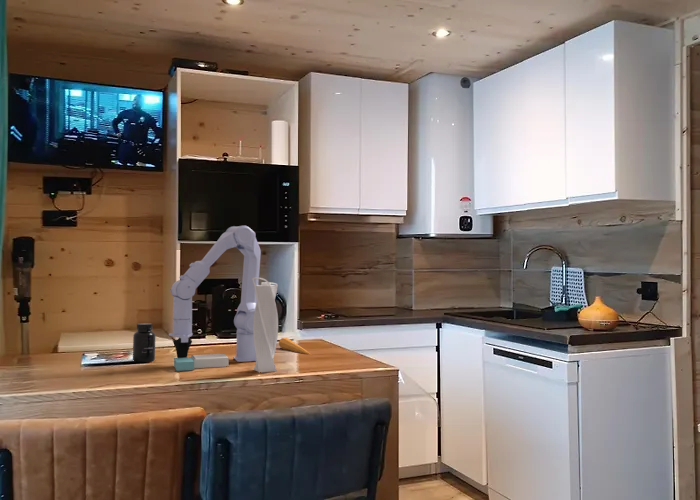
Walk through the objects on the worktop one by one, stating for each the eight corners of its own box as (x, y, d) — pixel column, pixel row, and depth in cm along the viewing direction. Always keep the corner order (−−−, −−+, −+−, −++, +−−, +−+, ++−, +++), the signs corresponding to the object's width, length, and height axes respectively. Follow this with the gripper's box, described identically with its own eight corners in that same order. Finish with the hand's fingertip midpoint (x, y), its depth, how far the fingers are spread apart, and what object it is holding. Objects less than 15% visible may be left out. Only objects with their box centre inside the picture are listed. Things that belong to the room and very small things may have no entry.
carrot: (278, 350, 231) (275, 339, 229) (288, 345, 233) (285, 334, 232) (308, 363, 215) (305, 352, 214) (318, 357, 217) (315, 346, 216)
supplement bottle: (148, 363, 196) (148, 325, 196) (128, 362, 198) (128, 324, 198) (159, 359, 203) (159, 323, 203) (139, 358, 204) (140, 322, 204)
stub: (190, 365, 192) (190, 357, 192) (193, 369, 185) (193, 361, 185) (173, 366, 190) (174, 358, 190) (176, 370, 183) (176, 362, 183)
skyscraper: (255, 373, 181) (256, 277, 181) (247, 369, 187) (248, 276, 188) (281, 371, 185) (282, 277, 185) (272, 367, 191) (273, 276, 191)
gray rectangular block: (224, 362, 200) (224, 353, 200) (228, 366, 192) (228, 357, 192) (190, 363, 196) (191, 354, 196) (194, 368, 188) (194, 359, 188)
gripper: (167, 316, 198) (166, 359, 198) (171, 321, 184) (170, 367, 184) (189, 316, 200) (189, 358, 200) (195, 321, 187) (194, 366, 187)
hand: (181, 362), depth 192 cm, fingers closed
